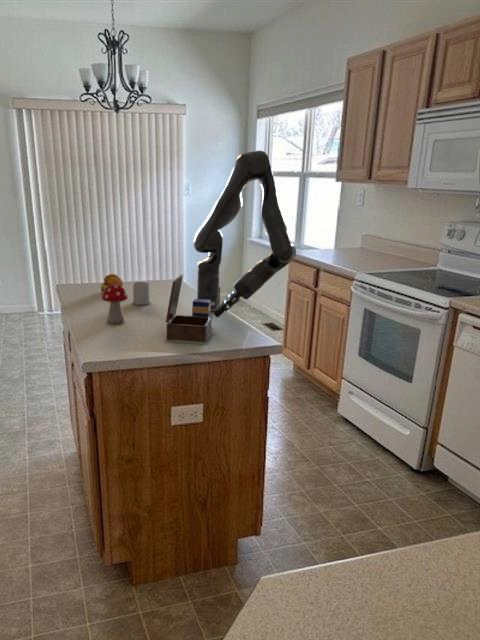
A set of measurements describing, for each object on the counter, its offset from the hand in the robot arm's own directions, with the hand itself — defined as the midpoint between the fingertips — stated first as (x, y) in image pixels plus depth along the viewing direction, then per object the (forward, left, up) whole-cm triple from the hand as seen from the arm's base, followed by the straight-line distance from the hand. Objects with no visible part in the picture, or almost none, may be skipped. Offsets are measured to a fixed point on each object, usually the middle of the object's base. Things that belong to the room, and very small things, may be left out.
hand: (217, 312), depth 198 cm
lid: (+17, -6, +7) cm, 19 cm away
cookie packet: (+3, -5, -7) cm, 9 cm away
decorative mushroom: (+19, -35, -7) cm, 41 cm away
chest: (+14, -1, -7) cm, 16 cm away
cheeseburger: (-15, -76, -7) cm, 78 cm away
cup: (-11, -52, -7) cm, 54 cm away
